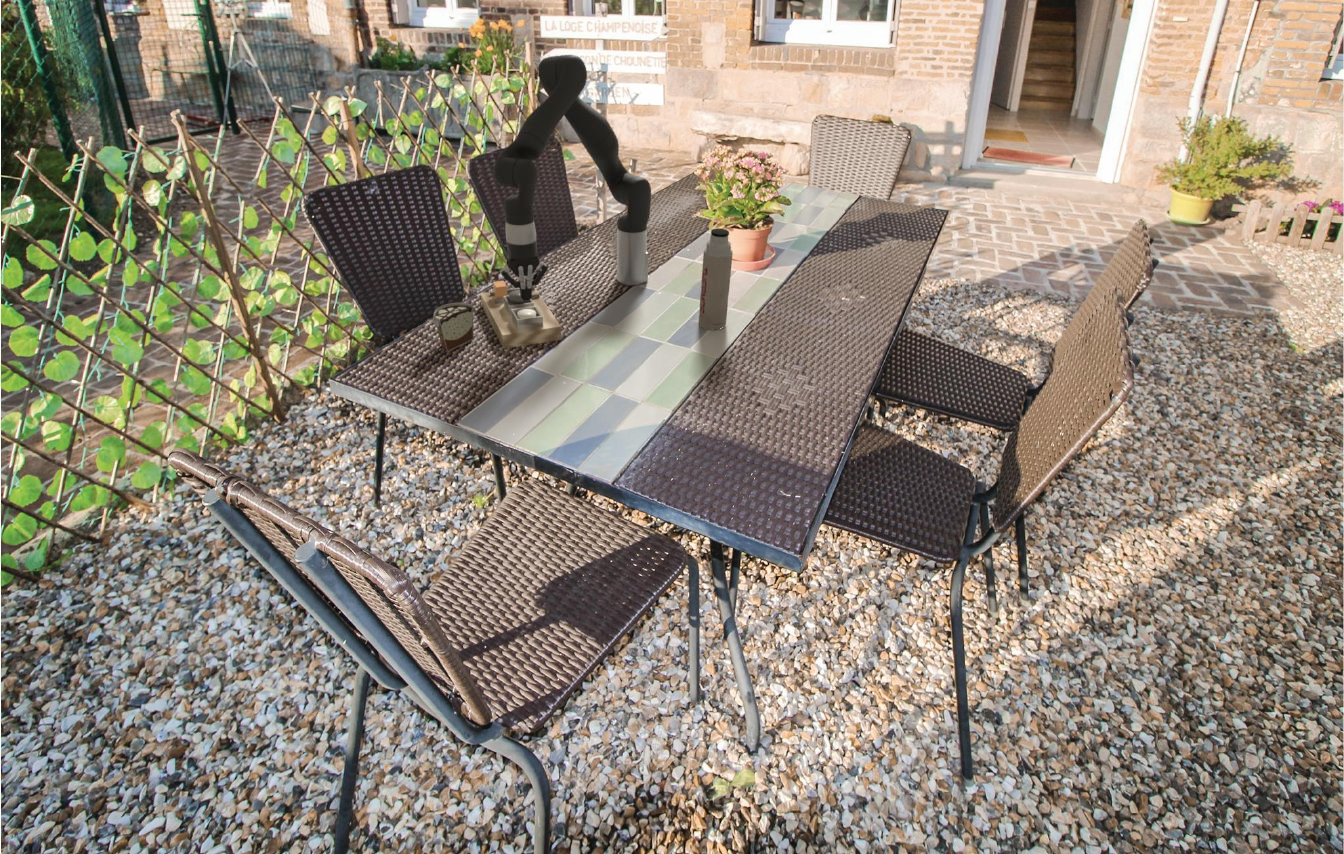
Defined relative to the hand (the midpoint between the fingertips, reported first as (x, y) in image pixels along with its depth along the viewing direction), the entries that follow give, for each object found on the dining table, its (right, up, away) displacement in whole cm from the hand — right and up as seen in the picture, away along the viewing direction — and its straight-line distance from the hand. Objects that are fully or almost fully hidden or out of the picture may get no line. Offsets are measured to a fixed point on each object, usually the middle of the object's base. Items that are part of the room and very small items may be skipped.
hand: (526, 300), depth 199 cm
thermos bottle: (+51, -4, +17) cm, 54 cm away
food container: (-20, -11, +1) cm, 23 cm away
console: (-4, -4, +13) cm, 14 cm away
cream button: (0, -5, +3) cm, 6 cm away
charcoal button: (-4, +2, +9) cm, 10 cm away
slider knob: (-11, +4, +16) cm, 19 cm away
